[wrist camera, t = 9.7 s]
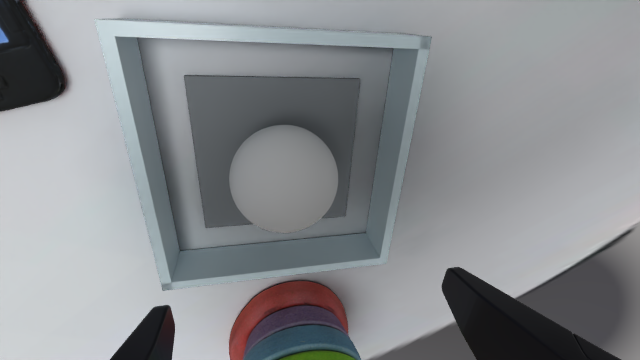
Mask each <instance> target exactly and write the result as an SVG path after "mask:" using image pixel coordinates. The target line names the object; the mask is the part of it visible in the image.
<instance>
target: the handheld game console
mask: <svg viewBox="0 0 640 360" xmlns="http://www.w3.org/2000/svg"><path fill="white" fill-rule="evenodd" d="M64 88H65V79H64V76H63V73H62V71H61V69H60V68H59V66H58V64H57V63H56V61H55V59H54V57H53V55H52V54H51V52H50V50H49V49H48V47H47V45H46V43H45V42H44V40H43V38H42V36H41V35H40V33H39V31H38V30H37V28H36V26H35V24H34V23H33V21H32V19H31V17H30V16H29V14H28V12H27V11H26V9H25V7H24V5H23V4H22V2H21V0H0V111H5V110H10V109H14V108H18V107H23V106H27V105H31V104H35V103H40V102H45V101H48V100H51V99H53V98H56V97H57V96H58V95H60V94H61V93H62V92H63V90H64Z"/></svg>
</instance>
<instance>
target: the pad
mask: <svg viewBox="0 0 640 360" xmlns="http://www.w3.org/2000/svg"><path fill="white" fill-rule="evenodd" d="M184 81H185V88H186V95H187V101H188V108H189V115H190V122H191V129H192V136H193V143H194V150H195V157H196V164H197V171H198V178H199V185H200V192H201V199H202V206H203V212H204V219H205V226H206V228H213V227H225V226H237V225H249V224H253V223H252V222H250V221H249V220H248V219H247V218H246V217H245V216H244V215H243V214H242V213H241V212H240V210H239V209H238V208H237V206H236V204H235V202H234V200H233V197H232V194H231V190H230V184H229V174H230V167H231V163H232V160H233V158H234V156H235V154H236V152H237V150H238V149H239V147H240V146H241V145H242V143H243V142H244V141H245V140H246V139H247V138H249V137H250V136H251V135H252V134H254V133H255V132H257V131H259V130H261V129H264V128H267V127H270V126H275V125H293V126H298V127H301V128H304V129H306V130H308V131H310V132H312V133H313V134H315V135H316V136H318V137H319V138H320V139H321V140H322V141H323V142H324V143H325V144H326V145H327V147H328V148H329V150H330V151H331V153H332V155H333V157H334V159H335V162H336V166H337V170H338V187H337V192H336V196H335V198H334V201H333V203H332V205H331V207H330V208H329V210H328V211H327V212H326V214H325V215H324V216H323V217H322V218H333V217H345V215H346V206H347V197H348V188H349V179H350V170H351V161H352V151H353V142H354V133H355V124H356V115H357V106H358V97H359V88H360V79H359V78H310V77H256V76H201V75H184Z"/></svg>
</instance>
